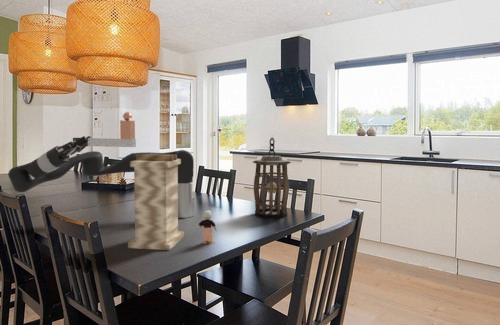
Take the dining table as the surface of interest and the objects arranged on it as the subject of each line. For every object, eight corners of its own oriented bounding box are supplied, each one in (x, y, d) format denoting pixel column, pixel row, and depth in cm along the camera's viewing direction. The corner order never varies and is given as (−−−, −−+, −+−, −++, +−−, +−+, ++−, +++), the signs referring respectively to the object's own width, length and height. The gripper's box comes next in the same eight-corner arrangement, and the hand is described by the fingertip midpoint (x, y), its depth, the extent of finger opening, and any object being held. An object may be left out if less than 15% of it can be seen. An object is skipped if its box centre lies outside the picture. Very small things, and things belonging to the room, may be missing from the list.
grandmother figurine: (217, 241, 148) (217, 209, 147) (216, 244, 145) (216, 211, 143) (197, 241, 148) (197, 209, 147) (196, 244, 144) (196, 211, 143)
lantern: (297, 215, 195) (298, 138, 191) (271, 221, 182) (272, 138, 178) (270, 209, 209) (271, 137, 205) (244, 214, 196) (245, 137, 192)
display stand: (127, 247, 139) (126, 156, 136) (146, 234, 156) (145, 152, 153) (169, 250, 137) (169, 156, 134) (184, 236, 155) (183, 153, 152)
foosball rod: (72, 146, 145) (71, 111, 144) (78, 145, 149) (77, 111, 148) (131, 147, 142) (131, 112, 141) (136, 146, 146) (135, 112, 145)
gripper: (68, 166, 156) (102, 145, 153) (46, 169, 142) (83, 147, 139) (59, 150, 156) (93, 129, 153) (36, 152, 142) (73, 129, 139)
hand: (88, 138), depth 146 cm, fingers closed on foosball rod, 3 cm apart
